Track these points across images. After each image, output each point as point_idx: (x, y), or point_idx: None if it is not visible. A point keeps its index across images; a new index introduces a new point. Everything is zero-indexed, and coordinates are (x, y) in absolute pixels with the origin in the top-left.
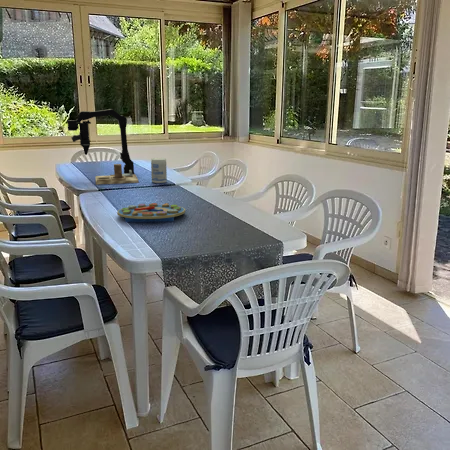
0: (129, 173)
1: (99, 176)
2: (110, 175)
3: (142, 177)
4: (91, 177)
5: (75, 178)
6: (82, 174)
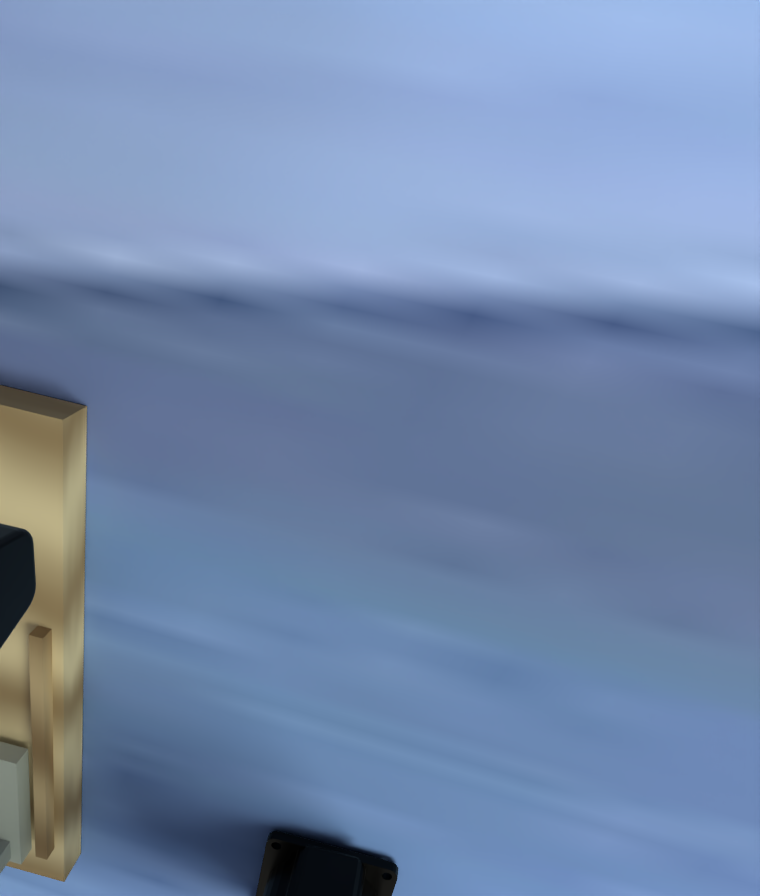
0: (1, 842)
1: (10, 470)
2: (34, 630)
3: (11, 881)
4: (208, 365)
5: (200, 20)
6: (659, 280)
